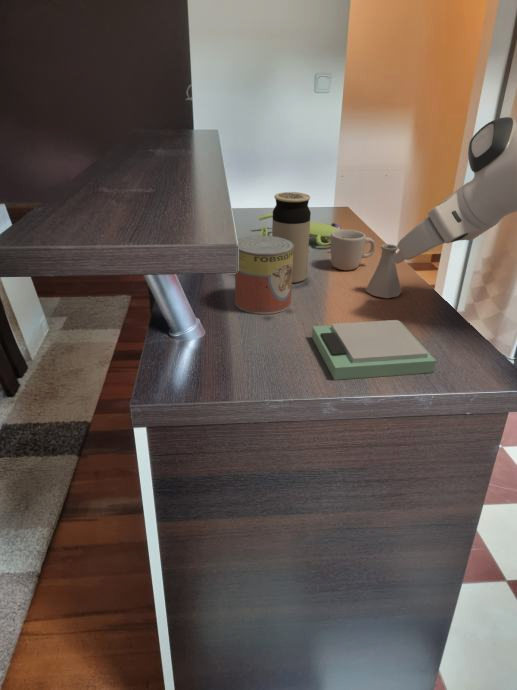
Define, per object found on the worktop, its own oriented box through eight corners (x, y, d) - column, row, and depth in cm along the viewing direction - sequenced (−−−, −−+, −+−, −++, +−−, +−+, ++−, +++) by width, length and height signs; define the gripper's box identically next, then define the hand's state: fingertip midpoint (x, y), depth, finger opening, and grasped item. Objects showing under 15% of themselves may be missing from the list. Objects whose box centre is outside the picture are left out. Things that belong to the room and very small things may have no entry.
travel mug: (284, 286, 110) (287, 201, 102) (264, 275, 116) (265, 194, 108) (313, 279, 114) (319, 197, 105) (292, 268, 120) (296, 190, 111)
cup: (366, 260, 126) (370, 228, 122) (378, 271, 119) (382, 237, 115) (323, 262, 124) (326, 229, 120) (333, 273, 117) (336, 239, 114)
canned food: (265, 319, 96) (266, 258, 90) (223, 302, 102) (222, 244, 97) (302, 302, 103) (306, 244, 97) (261, 287, 110) (262, 232, 104)
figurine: (261, 227, 150) (262, 208, 147) (353, 234, 145) (355, 214, 143) (247, 246, 134) (247, 225, 132) (350, 254, 130) (352, 233, 127)
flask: (358, 291, 108) (364, 245, 103) (379, 283, 113) (385, 238, 108) (387, 302, 104) (394, 254, 99) (407, 293, 108) (415, 246, 103)
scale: (398, 332, 92) (400, 317, 90) (433, 372, 80) (437, 356, 78) (311, 337, 90) (312, 322, 88) (334, 380, 78) (335, 363, 76)
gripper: (481, 190, 98) (426, 230, 108) (429, 209, 85) (372, 252, 96) (499, 218, 97) (441, 255, 108) (449, 241, 84) (389, 281, 95)
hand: (408, 254), depth 102 cm, fingers open, 8 cm apart
